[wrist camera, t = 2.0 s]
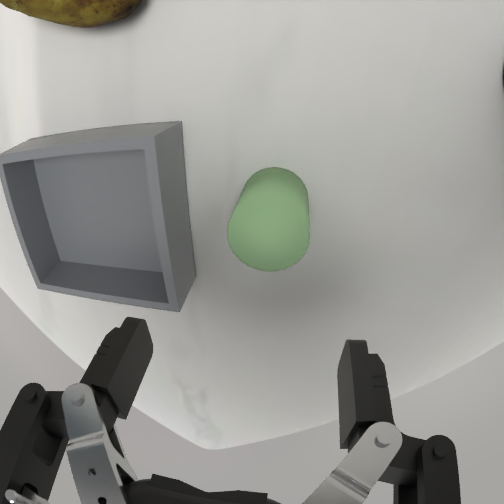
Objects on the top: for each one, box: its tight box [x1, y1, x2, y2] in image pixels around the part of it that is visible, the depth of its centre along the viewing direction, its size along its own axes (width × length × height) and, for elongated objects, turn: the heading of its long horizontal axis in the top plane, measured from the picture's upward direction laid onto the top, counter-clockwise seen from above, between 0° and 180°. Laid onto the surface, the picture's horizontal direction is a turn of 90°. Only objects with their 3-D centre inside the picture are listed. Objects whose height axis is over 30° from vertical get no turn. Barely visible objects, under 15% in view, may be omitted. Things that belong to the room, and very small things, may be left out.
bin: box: [0, 121, 196, 312], centre depth 25 cm, size 16×14×5 cm
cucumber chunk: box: [227, 167, 310, 271], centre depth 22 cm, size 5×5×6 cm
